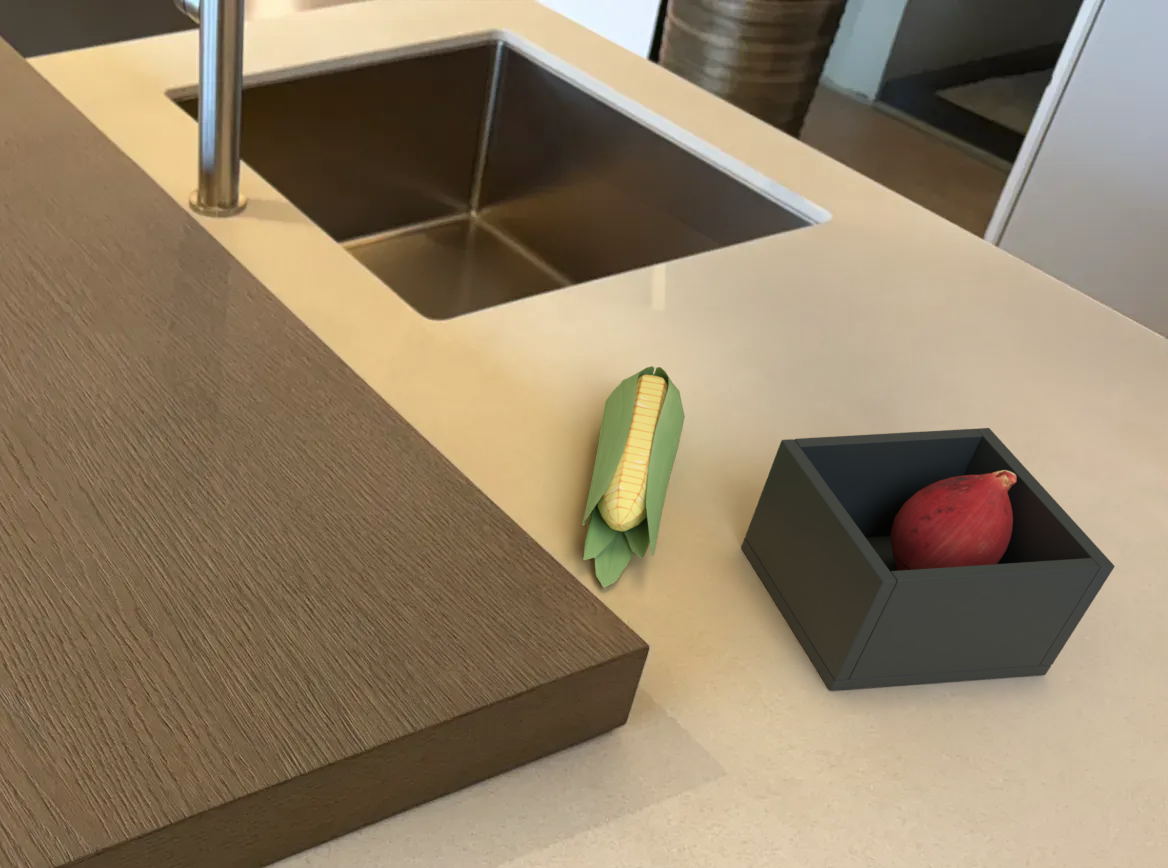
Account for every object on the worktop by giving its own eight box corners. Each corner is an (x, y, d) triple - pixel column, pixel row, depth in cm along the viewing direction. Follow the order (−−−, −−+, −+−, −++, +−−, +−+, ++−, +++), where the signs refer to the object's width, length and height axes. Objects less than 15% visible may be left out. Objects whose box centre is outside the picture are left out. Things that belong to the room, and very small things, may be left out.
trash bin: (935, 534, 84) (989, 427, 78) (1045, 675, 75) (1115, 566, 70) (740, 547, 83) (781, 439, 77) (829, 691, 74) (883, 581, 69)
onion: (874, 572, 75) (981, 451, 72) (850, 543, 81) (948, 430, 77) (960, 628, 76) (1070, 511, 72) (930, 596, 81) (1032, 485, 78)
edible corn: (680, 422, 92) (699, 362, 89) (647, 604, 79) (667, 542, 76) (604, 407, 93) (619, 348, 90) (558, 584, 80) (574, 522, 77)
